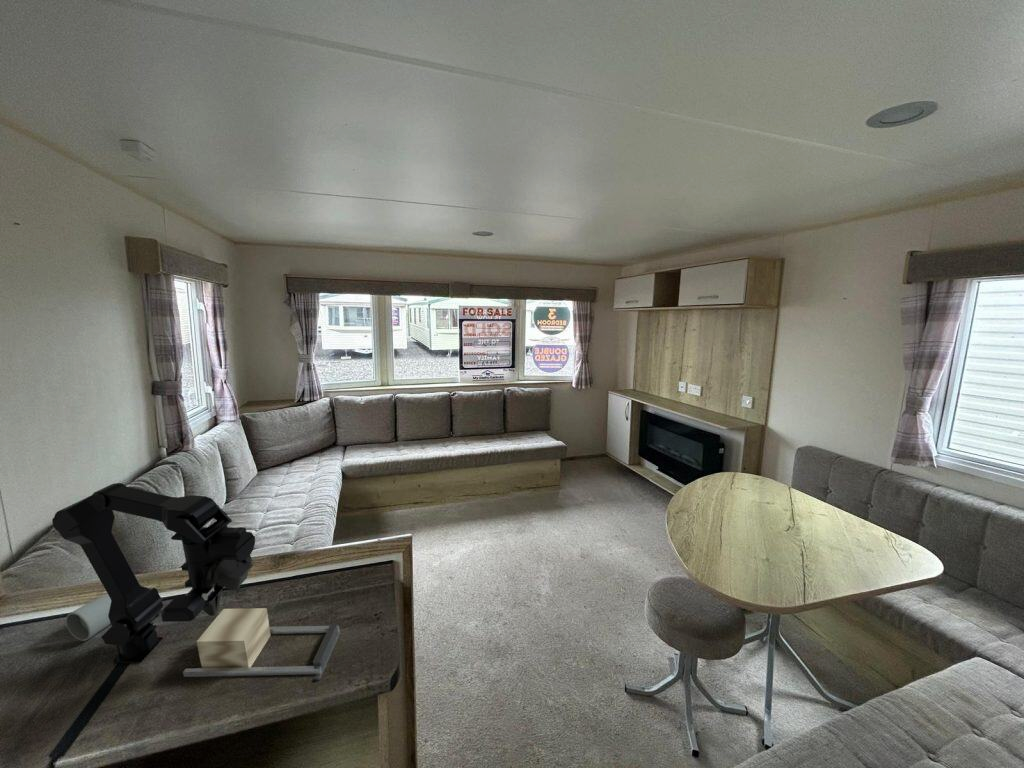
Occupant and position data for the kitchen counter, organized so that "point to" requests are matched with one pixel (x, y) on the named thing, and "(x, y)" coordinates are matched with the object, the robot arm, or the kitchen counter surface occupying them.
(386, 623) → the kitchen counter surface
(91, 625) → the grey hollow cylinder
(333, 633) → the graphite track
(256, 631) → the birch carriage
